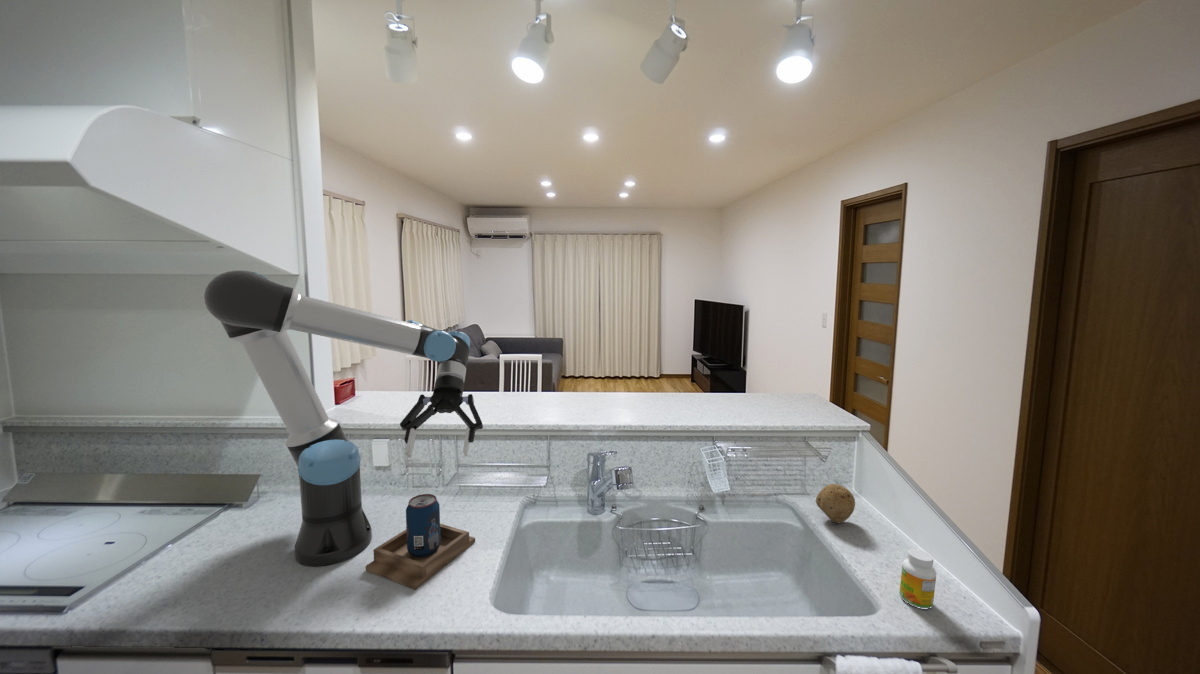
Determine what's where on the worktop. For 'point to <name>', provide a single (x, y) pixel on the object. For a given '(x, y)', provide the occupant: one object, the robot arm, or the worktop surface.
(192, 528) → the worktop surface
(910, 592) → the supplement bottle
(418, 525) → the soda can
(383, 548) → the wooden tray
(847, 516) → the brown rounded lump
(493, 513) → the worktop surface
